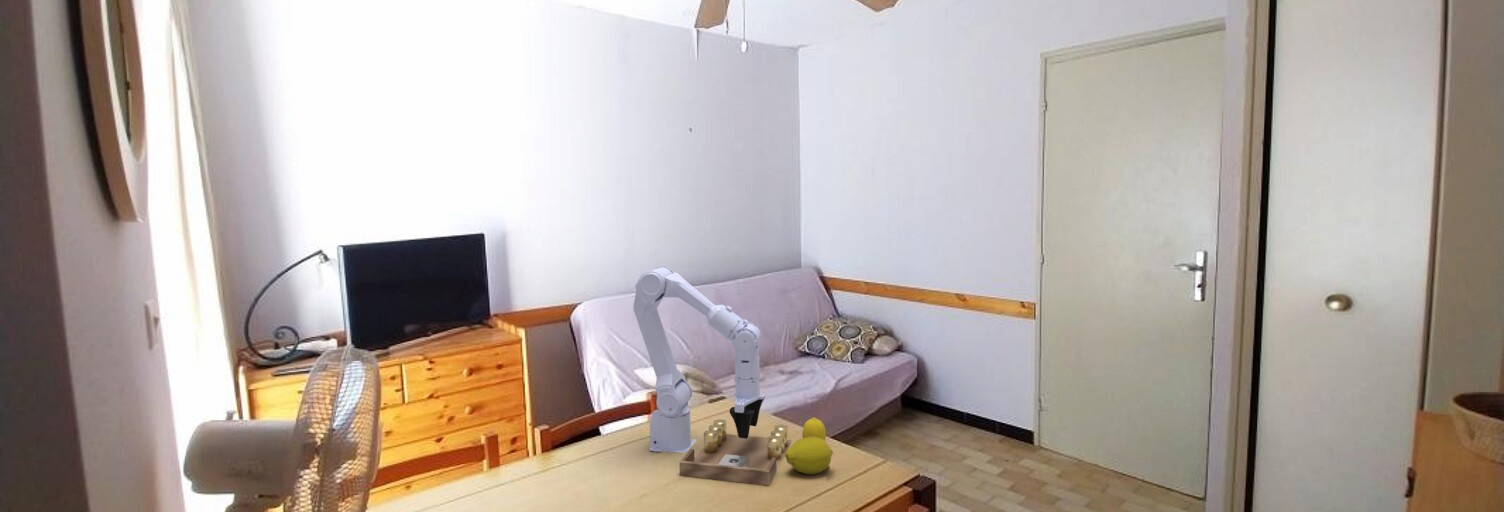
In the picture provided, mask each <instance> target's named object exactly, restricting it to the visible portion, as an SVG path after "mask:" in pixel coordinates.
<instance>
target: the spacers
mask: <svg viewBox="0 0 1504 512" xmlns="http://www.w3.org/2000/svg"><path fill="white" fill-rule="evenodd" d="M712 423H713V424H712V425H709V426H708V430H706V431H703V447H704V452H705V453H707V454H713V453H716V452H717V451H718V447H721V446H722V442H723V441H726V440H727V434H728V433H727V420H725V419H719V418H718V419H715V420H713V422H712ZM788 428H789V427H788V426H787V425H785V424H777V425H775V426H774V427H773V430H772V431H771V432H770V436H768V437H766V438H767V456H768V459H769V460H772V458H773V457H774V458H776V460H779V459H781V454H782V453H784V452H785V447H787V446H788V440H789V436H788V430H789V429H788Z"/></svg>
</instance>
